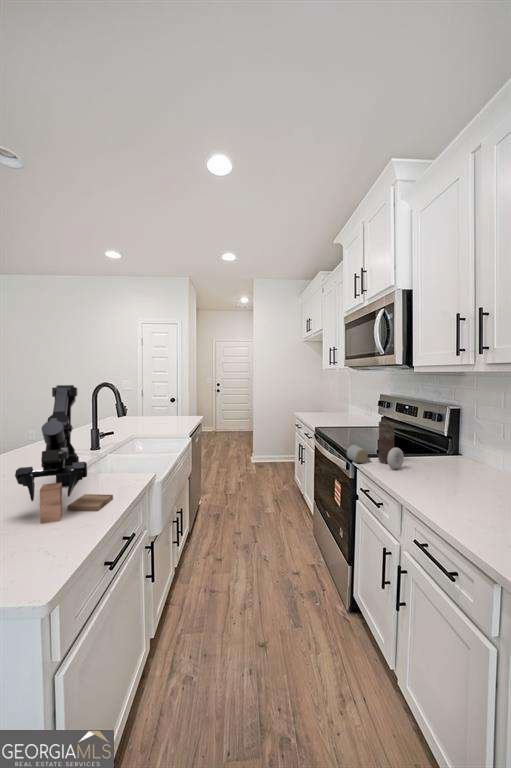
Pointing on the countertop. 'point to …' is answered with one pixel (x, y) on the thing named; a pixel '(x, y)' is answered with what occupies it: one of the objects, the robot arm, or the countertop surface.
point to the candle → (385, 440)
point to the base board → (90, 502)
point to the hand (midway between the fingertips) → (50, 498)
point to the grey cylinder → (357, 454)
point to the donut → (394, 454)
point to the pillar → (50, 503)
